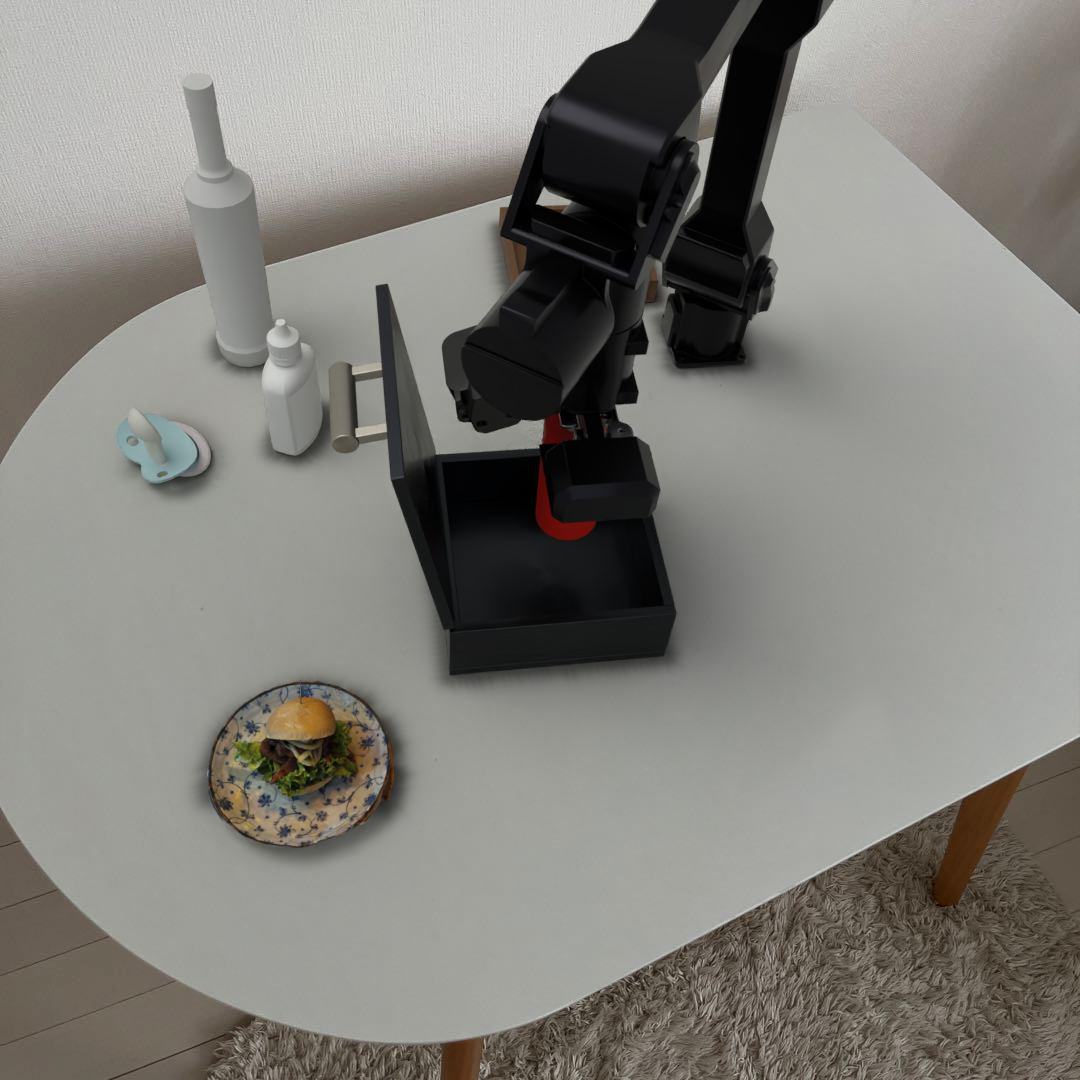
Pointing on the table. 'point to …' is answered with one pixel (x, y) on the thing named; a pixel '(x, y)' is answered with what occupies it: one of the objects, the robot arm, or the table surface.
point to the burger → (300, 765)
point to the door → (399, 446)
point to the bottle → (226, 234)
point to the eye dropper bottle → (291, 391)
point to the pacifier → (162, 447)
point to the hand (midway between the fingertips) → (569, 475)
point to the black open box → (543, 575)
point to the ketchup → (543, 512)
